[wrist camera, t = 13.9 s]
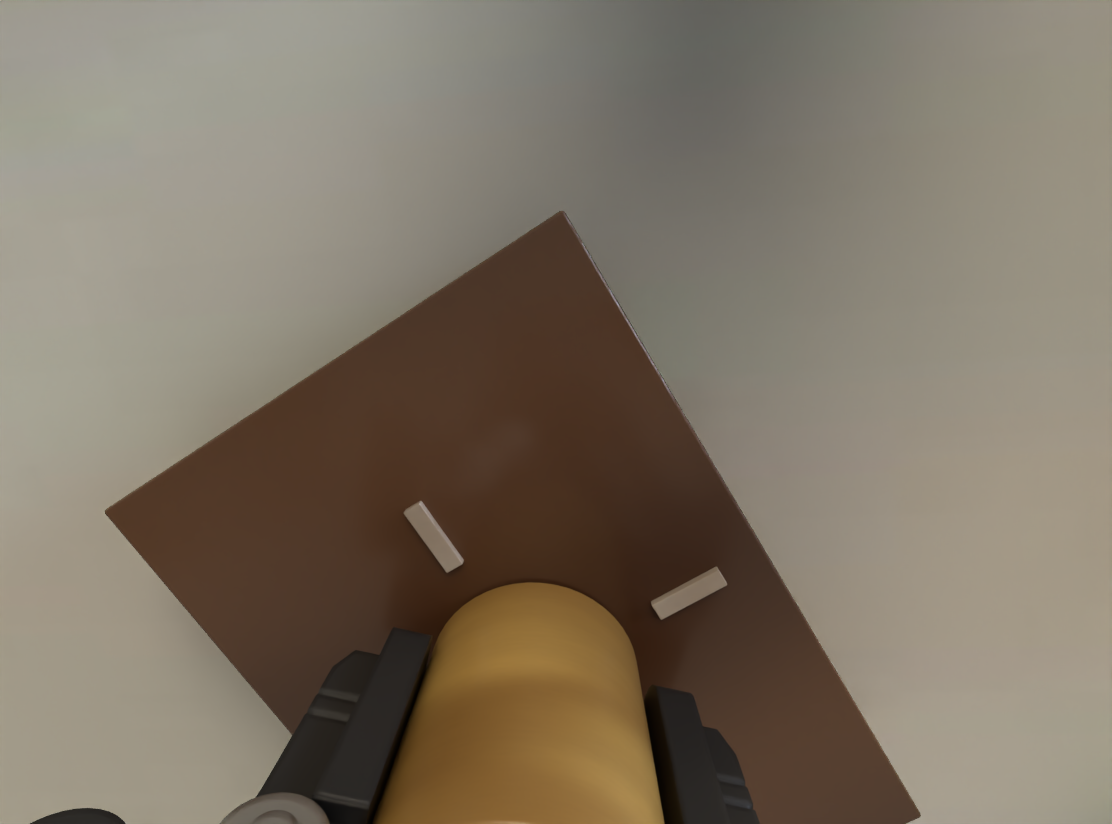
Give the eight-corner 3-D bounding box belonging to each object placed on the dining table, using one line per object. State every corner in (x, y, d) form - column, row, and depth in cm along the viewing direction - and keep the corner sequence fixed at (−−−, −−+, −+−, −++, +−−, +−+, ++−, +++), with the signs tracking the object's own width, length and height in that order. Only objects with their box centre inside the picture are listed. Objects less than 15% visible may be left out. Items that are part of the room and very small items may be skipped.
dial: (659, 604, 11) (737, 891, 6) (611, 777, 12) (642, 1153, 7) (449, 561, 11) (347, 818, 6) (416, 740, 12) (303, 1092, 7)
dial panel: (864, 726, 15) (927, 824, 12) (521, 888, 16) (513, 1007, 14) (563, 220, 12) (562, 207, 9) (185, 467, 13) (95, 514, 11)
